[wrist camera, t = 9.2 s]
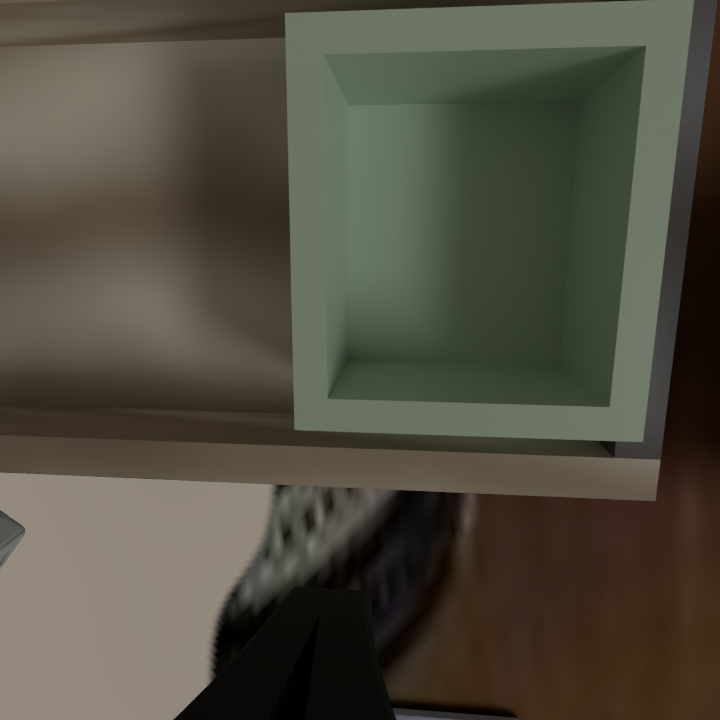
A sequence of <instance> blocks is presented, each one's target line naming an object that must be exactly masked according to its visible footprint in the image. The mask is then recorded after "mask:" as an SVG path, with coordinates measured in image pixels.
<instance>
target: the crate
mask: <svg viewBox="0 0 720 720" xmlns="http://www.w3.org/2000/svg"><path fill="white" fill-rule="evenodd" d="M693 6H694V0H641V1H613V2H584V3H556V4H528V5H500V6H471V7H443V8H415V9H387V10H358V11H330V12H302V13H285V39H286V83H287V126H288V170H289V213H290V257H291V300H292V344H293V387H294V430H305V431H334V432H362V433H391V434H420V435H449V436H478V437H507V438H536V439H565V440H594V441H623V442H643V437H644V428H645V420H646V411H647V402H648V394H649V385H650V377H651V368H652V359H653V351H654V342H655V333H656V325H657V316H658V308H659V299H660V290H661V282H662V273H663V264H664V256H665V247H666V239H667V230H668V221H669V213H670V204H671V195H672V187H673V178H674V170H675V161H676V152H677V144H678V135H679V126H680V118H681V109H682V101H683V92H684V83H685V75H686V66H687V57H688V49H689V40H690V32H691V23H692V14H693Z"/></svg>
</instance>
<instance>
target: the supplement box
mask: <svg viewBox="0 0 720 720" xmlns="http://www.w3.org/2000/svg"><path fill="white" fill-rule="evenodd" d="M24 534H25V528H24V527H23V526H22V525H20V524H19V523H17V522H16V521H15V520H13V519H12V518H10V517H9V516H8V515H6V514H5V513H3V512H2V511H0V569H1V567H2V566H3V564H4V563H5V561H6V560H7V559H8V557H9V556H10V554H11V553H12V551H13V550H14V549H15V547H16V546H17V544H18V543H19V542H20V540H21V538H22V537H23V536H24Z"/></svg>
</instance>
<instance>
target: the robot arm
mask: <svg viewBox="0 0 720 720" xmlns="http://www.w3.org/2000/svg"><path fill="white" fill-rule="evenodd" d="M174 720H519V719H517V718H511V717H499V716H486V715H474V714H461V713H449V712H436V711H424V710H411V709H399V708H392V705H391V702H390V699H389V696H388V693H387V690H386V686H385V683H384V679H383V675H382V672H381V668H380V665H379V661H378V657H377V653H376V648H375V643H374V638H373V633H372V626H371V597H370V596H369V595H368V594H367V593H366V592H365V591H358V590H341V589H325V588H308V587H295V588H294V589H292V590H291V591H290V592H289V593H288V595H287V596H286V597H285V598H284V600H283V601H282V602H281V603H280V605H279V606H278V607H277V608H276V610H275V611H274V612H273V613H272V615H271V616H270V617H269V618H268V619H267V621H266V622H265V623H264V624H263V625H262V627H261V628H260V629H259V630H258V631H257V633H256V634H255V635H254V636H253V637H252V638H251V640H250V641H249V642H248V643H247V644H246V645H245V646H244V647H243V648H242V650H241V651H240V652H239V653H238V654H237V655H236V656H235V657H234V658H233V660H232V661H231V662H230V663H229V664H228V665H227V666H226V667H225V668H224V670H223V671H222V672H221V673H220V674H219V675H218V676H217V677H216V678H215V679H214V680H213V681H212V682H211V683H210V684H209V685H208V686H207V687H206V688H205V689H204V690H203V691H202V692H201V693H200V694H199V695H198V696H197V697H196V698H195V699H194V700H193V701H192V702H191V703H190V704H189V705H188V706H187V707H186V708H185V709H184V710H183V711H182V712H181V713H180V714H179V715H178V716H177V717H176V718H175V719H174Z"/></svg>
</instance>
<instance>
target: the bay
mask: <svg viewBox="0 0 720 720" xmlns="http://www.w3.org/2000/svg"><path fill="white" fill-rule="evenodd" d="M613 1H641V0H0V472H4V473H5V472H6V473H27V474H50V475H74V476H95V477H119V478H142V479H164V480H187V481H188V480H189V481H210V482H233V483H255V484H256V483H257V484H278V485H301V486H324V487H347V488H369V489H392V490H415V491H438V492H461V493H484V494H506V495H529V496H552V497H575V498H598V499H621V500H643V501H655V500H656V492H657V484H658V476H659V468H660V460H661V452H662V444H663V436H664V428H665V420H666V412H667V403H668V395H669V387H670V379H671V371H672V363H673V355H674V347H675V339H676V331H677V323H678V315H679V307H680V299H681V290H682V282H683V274H684V266H685V258H686V250H687V242H688V234H689V226H690V218H691V210H692V202H693V194H694V185H695V177H696V169H697V161H698V153H699V145H700V137H701V129H702V121H703V113H704V105H705V97H706V89H707V81H708V72H709V64H710V56H711V48H712V40H713V32H714V24H715V16H716V8H717V0H694V6H693V14H692V23H691V32H690V40H689V49H688V57H687V66H686V75H685V83H684V92H683V101H682V109H681V118H680V126H679V135H678V144H677V152H676V161H675V170H674V178H673V187H672V195H671V204H670V213H669V221H668V230H667V239H666V247H665V256H664V264H663V273H662V282H661V290H660V299H659V308H658V316H657V325H656V333H655V342H654V351H653V359H652V368H651V377H650V385H649V394H648V402H647V411H646V420H645V428H644V437H643V442H623V441H594V440H565V439H536V438H507V437H478V436H449V435H420V434H391V433H362V432H334V431H305V430H294V387H293V344H292V300H291V257H290V213H289V170H288V126H287V83H286V39H285V13H302V12H330V11H358V10H387V9H415V8H443V7H471V6H500V5H528V4H556V3H584V2H613Z"/></svg>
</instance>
